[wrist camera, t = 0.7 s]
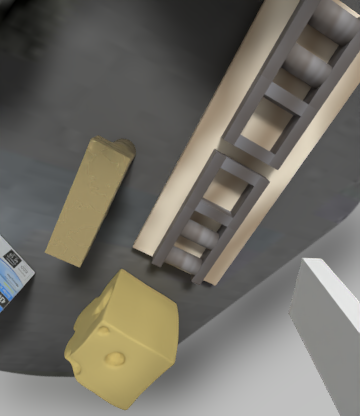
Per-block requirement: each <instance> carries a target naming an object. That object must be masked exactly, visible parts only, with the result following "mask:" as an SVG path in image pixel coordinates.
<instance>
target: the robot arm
mask: <svg viewBox="0 0 360 416" xmlns="http://www.w3.org/2000/svg"><path fill="white" fill-rule="evenodd" d="M289 315H290V317H291V319H292V321H293V323H294V325H295V327H296V329H297V331H298V333H299V335H300V337H301V339H302V341H303V342H304V345H305V346H306V348H307V351H308V352H309V354H310V356H311V358H312V360H313V362H314V364H315V366H316V368H317V370H318V372H319V374H320V376H321V378H322V380H323V382H324V384H325V386H326V388H327V390H328V392H329V394H330V396H331V398H332V400H333V402H334V404H335V406H336V408H337V410H338V412H339V414H340V416H360V302H359V301H358V300H357V299H356V298H355V296H354V295H353V294H352V293H351V292H350V291H349V290H348V288H347V287H346V286H345V285H344V284H343V283H342V282H341V280H340V279H339V278H338V277H337V276H336V275H335V274H334V272H333V271H332V270H331V269H330V268H329V267H328V265H327V264H326V263H325V262H324V261H323V260H322V259H315V258H302V262H301V266H300V270H299V273H298V277H297V281H296V285H295V290H294V293H293V297H292V302H291V305H290V309H289Z"/></svg>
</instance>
